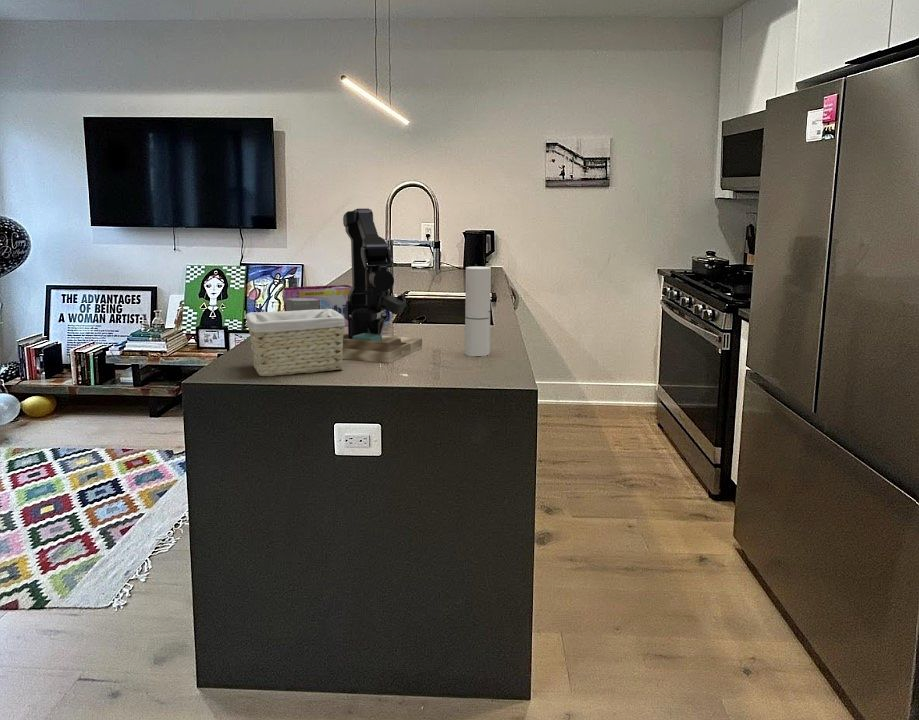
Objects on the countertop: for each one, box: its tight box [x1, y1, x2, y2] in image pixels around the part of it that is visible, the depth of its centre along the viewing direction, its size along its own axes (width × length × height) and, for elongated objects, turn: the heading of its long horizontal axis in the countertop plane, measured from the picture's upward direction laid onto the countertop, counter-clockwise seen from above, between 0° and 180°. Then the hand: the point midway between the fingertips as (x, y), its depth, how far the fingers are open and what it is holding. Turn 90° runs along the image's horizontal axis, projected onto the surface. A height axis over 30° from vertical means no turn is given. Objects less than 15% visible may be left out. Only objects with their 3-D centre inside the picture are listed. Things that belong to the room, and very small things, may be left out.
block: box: [353, 333, 382, 342], centre depth 232 cm, size 6×6×3 cm
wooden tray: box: [342, 333, 423, 364], centre depth 237 cm, size 18×22×6 cm
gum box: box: [281, 284, 352, 328], centre depth 279 cm, size 24×8×14 cm, turn 112°
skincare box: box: [286, 298, 319, 311], centre depth 236 cm, size 8×7×16 cm
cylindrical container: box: [464, 266, 492, 357], centre depth 234 cm, size 7×7×25 cm
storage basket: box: [245, 309, 345, 377], centre depth 216 cm, size 24×16×15 cm
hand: (376, 340), depth 236 cm, fingers closed
